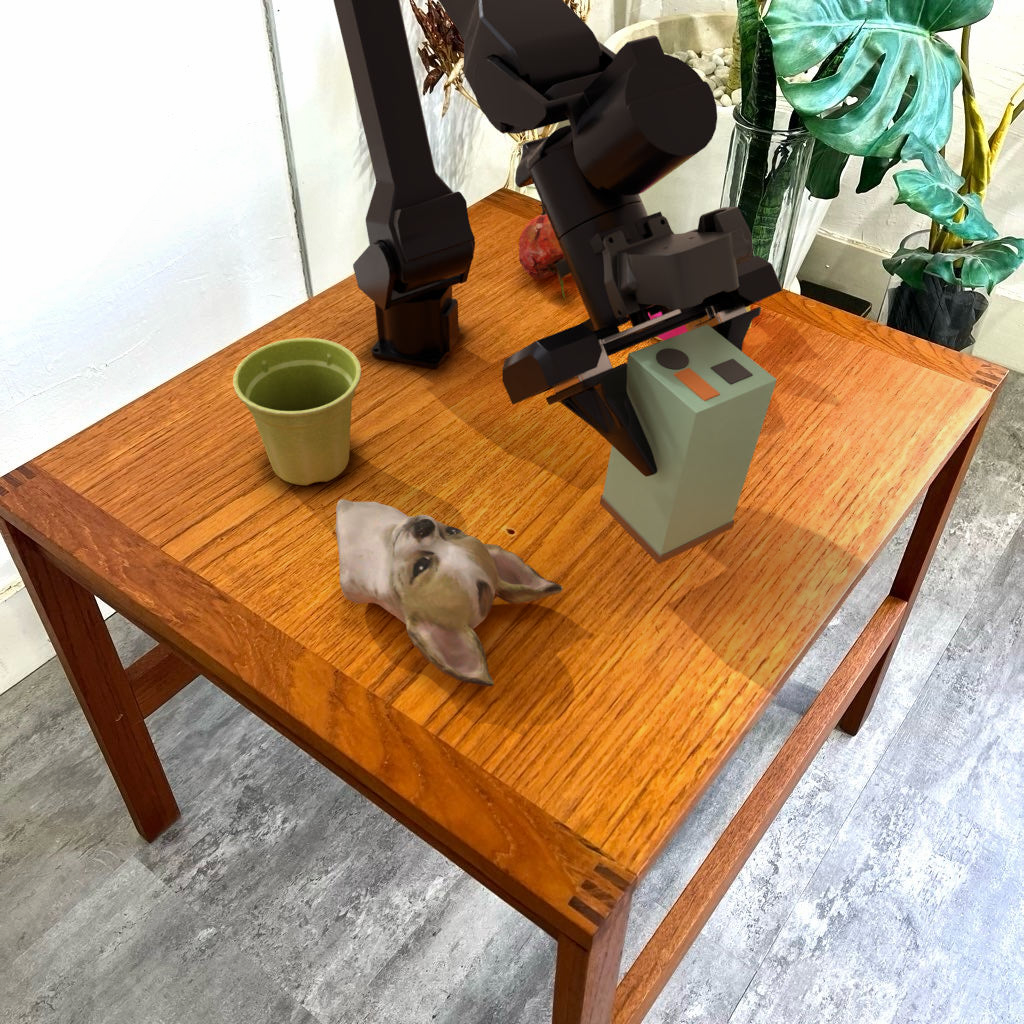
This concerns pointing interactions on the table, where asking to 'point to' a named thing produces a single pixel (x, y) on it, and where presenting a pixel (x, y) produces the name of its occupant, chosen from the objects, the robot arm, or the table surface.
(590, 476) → the table surface
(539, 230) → the pomegranate
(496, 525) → the table surface
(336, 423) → the plant pot
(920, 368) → the table surface
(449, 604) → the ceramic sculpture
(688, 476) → the shape sorter
